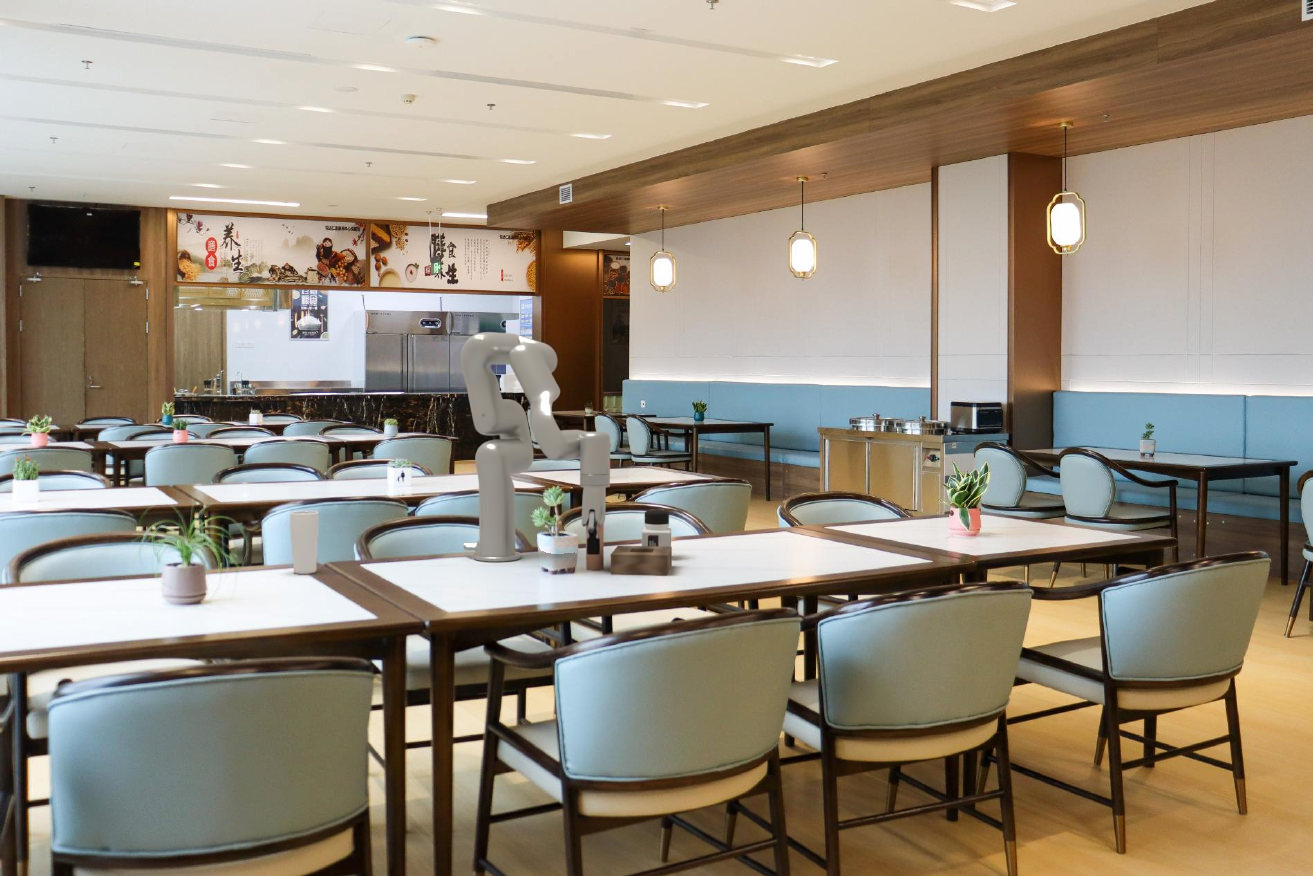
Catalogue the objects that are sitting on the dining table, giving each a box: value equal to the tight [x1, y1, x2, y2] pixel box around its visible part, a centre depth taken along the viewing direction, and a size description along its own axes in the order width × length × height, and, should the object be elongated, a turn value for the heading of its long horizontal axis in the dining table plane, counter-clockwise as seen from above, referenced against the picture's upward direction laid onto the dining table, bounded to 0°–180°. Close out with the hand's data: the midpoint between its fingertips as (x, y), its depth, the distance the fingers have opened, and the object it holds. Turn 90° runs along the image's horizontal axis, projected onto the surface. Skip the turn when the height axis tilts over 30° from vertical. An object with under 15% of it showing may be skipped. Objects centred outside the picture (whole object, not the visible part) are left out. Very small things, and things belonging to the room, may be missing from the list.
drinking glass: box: [289, 510, 320, 575], centre depth 285 cm, size 7×7×15 cm
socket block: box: [610, 545, 673, 576], centre depth 292 cm, size 14×14×5 cm
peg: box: [585, 521, 605, 572], centre depth 293 cm, size 4×4×12 cm
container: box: [641, 508, 672, 547], centre depth 311 cm, size 8×8×13 cm
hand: (594, 552), depth 293 cm, fingers closed on peg, 4 cm apart
